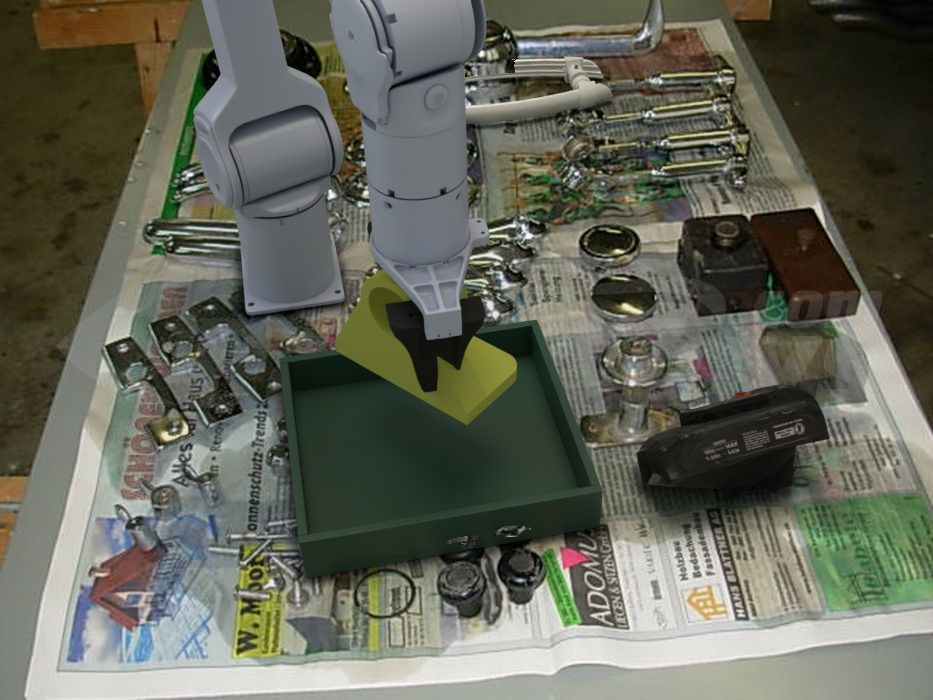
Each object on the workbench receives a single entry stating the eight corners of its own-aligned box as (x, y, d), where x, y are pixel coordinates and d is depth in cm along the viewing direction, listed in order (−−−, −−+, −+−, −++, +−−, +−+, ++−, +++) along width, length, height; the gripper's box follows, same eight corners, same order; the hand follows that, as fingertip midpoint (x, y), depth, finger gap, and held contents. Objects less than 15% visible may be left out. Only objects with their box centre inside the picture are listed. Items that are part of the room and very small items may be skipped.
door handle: (362, 92, 116) (595, 68, 119) (370, 141, 109) (619, 114, 111) (360, 69, 114) (596, 44, 117) (368, 117, 107) (620, 90, 110)
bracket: (524, 387, 73) (526, 267, 67) (467, 439, 70) (463, 318, 63) (397, 320, 79) (386, 202, 72) (338, 365, 75) (321, 246, 69)
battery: (810, 479, 77) (776, 384, 78) (859, 469, 69) (820, 363, 70) (649, 529, 76) (617, 431, 77) (680, 525, 68) (644, 416, 69)
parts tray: (285, 393, 83) (278, 357, 80) (536, 354, 85) (537, 318, 83) (306, 578, 70) (299, 543, 68) (600, 527, 72) (603, 491, 70)
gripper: (515, 236, 58) (514, 418, 67) (461, 101, 69) (467, 274, 78) (381, 254, 57) (399, 437, 66) (348, 115, 68) (367, 289, 77)
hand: (428, 350), depth 72 cm, fingers closed on bracket, 6 cm apart
